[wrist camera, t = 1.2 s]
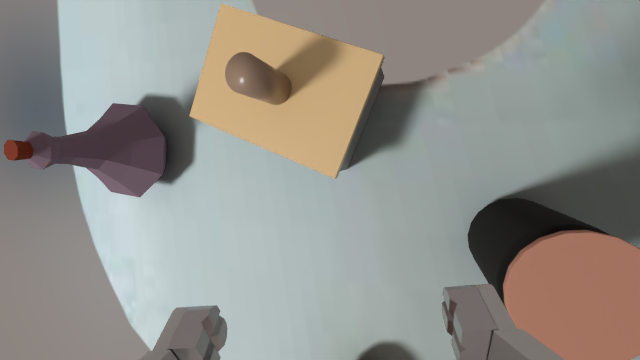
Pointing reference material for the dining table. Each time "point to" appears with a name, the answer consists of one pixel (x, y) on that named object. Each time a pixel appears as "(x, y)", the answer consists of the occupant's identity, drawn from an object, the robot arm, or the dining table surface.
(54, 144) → the flask
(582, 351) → the coffee jar
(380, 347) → the dining table surface
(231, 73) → the lid
